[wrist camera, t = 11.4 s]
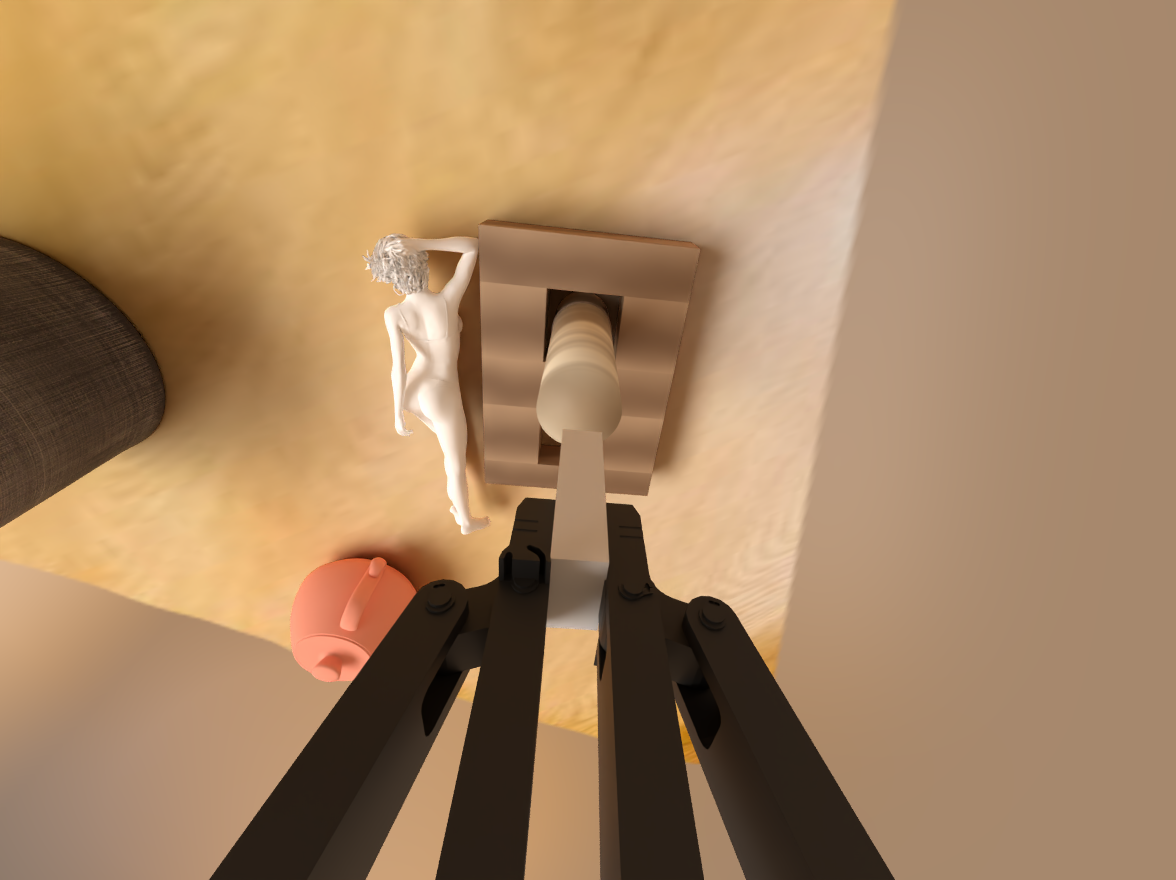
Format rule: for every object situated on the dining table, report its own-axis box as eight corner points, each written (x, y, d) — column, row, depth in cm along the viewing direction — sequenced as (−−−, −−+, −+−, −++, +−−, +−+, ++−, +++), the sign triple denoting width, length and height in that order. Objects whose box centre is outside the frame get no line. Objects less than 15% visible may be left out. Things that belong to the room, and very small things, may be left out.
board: (487, 219, 30) (478, 224, 27) (691, 242, 31) (700, 248, 28) (491, 463, 40) (484, 483, 38) (643, 475, 41) (647, 495, 39)
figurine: (485, 495, 45) (430, 224, 32) (523, 517, 42) (480, 227, 29) (420, 537, 40) (324, 238, 27) (459, 566, 37) (371, 243, 24)
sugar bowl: (303, 600, 50) (243, 690, 42) (330, 517, 44) (266, 604, 35) (409, 632, 53) (374, 723, 45) (448, 559, 47) (417, 649, 38)
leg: (556, 287, 32) (536, 364, 20) (613, 293, 33) (630, 373, 20) (553, 342, 34) (533, 444, 22) (606, 347, 35) (617, 451, 22)
